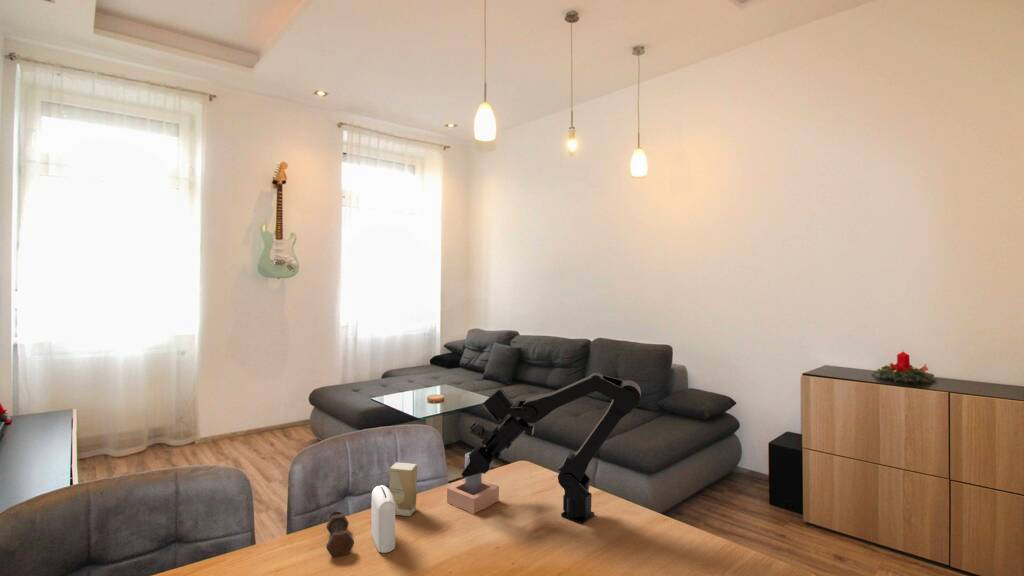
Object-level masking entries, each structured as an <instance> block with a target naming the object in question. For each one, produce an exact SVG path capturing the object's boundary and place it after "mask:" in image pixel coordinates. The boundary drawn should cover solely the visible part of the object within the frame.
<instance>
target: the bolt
mask: <svg viewBox="0 0 1024 576" xmlns="http://www.w3.org/2000/svg"><path fill="white" fill-rule="evenodd" d="M349 523H350V522H349V520H348V519H347V517H346V516H345V515H344V514H343V513H342V512H340V511H332V513H331V514H330V516H329V520H328V521H327V523H326V525H325V526H326V529H327V531H328V533H329V534H330V535H331V536H330V538H329V540H328V541H327V543H326V546H325V547H326V550H327V551H328V553H329V555H330V556H331V557H332V558H340V557H346V556H348V555H349V554H350V552H351V550H352V549H353V547H354V544H355V541H354V540H355V539H354V538H353V537H352V535H351V534H350V532H349V531H348V530H347V529H348V526H349Z"/></svg>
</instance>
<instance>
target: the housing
mask: <svg viewBox="0 0 1024 576" xmlns="http://www.w3.org/2000/svg"><path fill="white" fill-rule="evenodd" d="M499 501H500V486H499V485H496V484H493V483H491V482H488V481H486V480H484V479H482V492H479V493H477V494H475V495H471V494H469V493H466V492H465V479H464V480H462V481H460V482H458V483H455V484H453V485H451V486H448V487H447V488H446V503H447V504H450V505H451V504H452V505H451V506H454V507H456V508H458V507H459V509H460V508H462V509H461V510H463V509H464V510H463V511H465V510H466V511H465V512H467V511H468V512H467V513H469V512H470V514H471V515H475V514H476V512H477V513H478V511H479V512H481V511H482V509H483V510H484V509H486V508H489V507H490V506H492V505H493V503H494V504H495V502H496V503H497V502H499ZM480 510H481V511H480Z"/></svg>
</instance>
